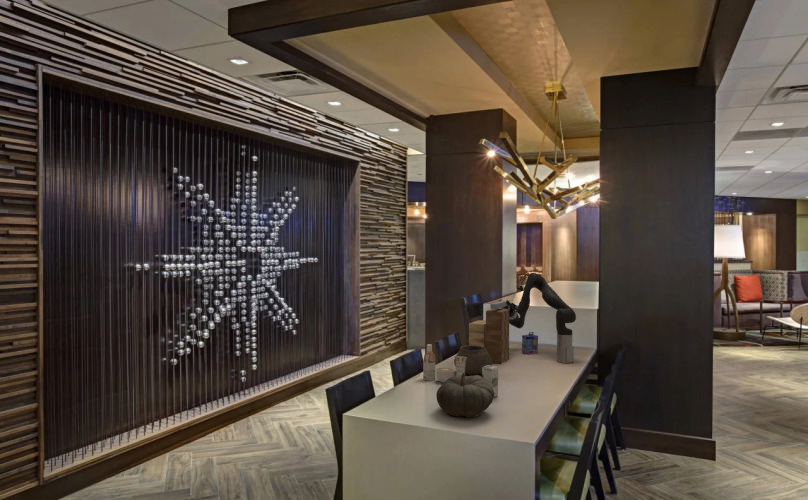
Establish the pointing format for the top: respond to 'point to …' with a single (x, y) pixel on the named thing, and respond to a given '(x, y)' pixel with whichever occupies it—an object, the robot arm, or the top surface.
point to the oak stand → (477, 333)
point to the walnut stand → (497, 335)
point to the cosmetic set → (441, 372)
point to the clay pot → (474, 358)
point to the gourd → (465, 395)
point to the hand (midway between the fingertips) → (503, 301)
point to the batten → (498, 304)
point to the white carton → (491, 377)
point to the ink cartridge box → (530, 343)
